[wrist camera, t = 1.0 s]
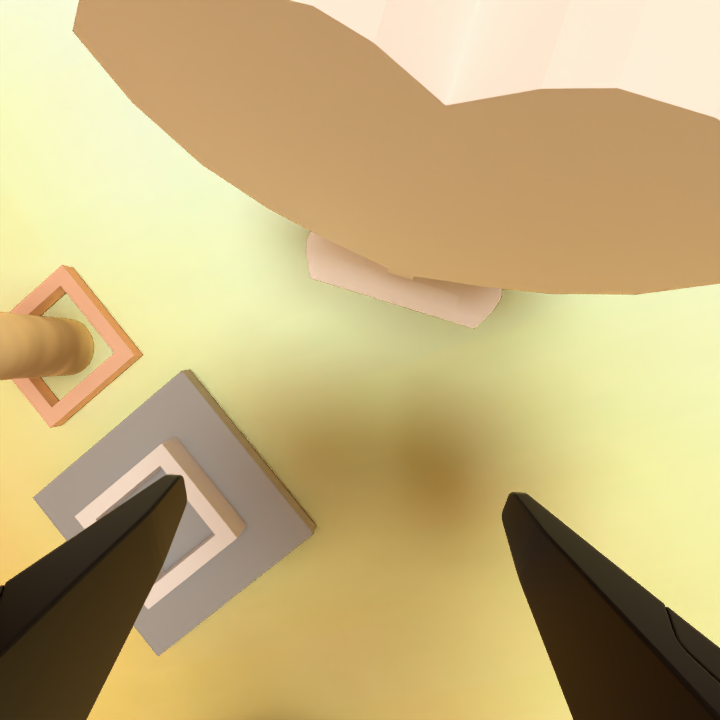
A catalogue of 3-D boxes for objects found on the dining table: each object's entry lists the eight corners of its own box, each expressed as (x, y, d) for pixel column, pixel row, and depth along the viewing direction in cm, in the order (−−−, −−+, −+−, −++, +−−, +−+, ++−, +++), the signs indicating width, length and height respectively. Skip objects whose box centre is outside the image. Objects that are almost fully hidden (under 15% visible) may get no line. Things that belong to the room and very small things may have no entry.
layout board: (167, 643, 24) (142, 677, 21) (47, 491, 24) (8, 507, 22) (316, 526, 23) (308, 547, 20) (190, 369, 23) (167, 372, 21)
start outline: (61, 425, 24) (50, 427, 23) (-7, 339, 24) (-21, 339, 23) (142, 354, 23) (134, 355, 23) (72, 267, 24) (61, 264, 23)
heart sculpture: (527, 265, 22) (1222, -142, 4) (503, 337, 22) (1057, 273, 4) (304, 198, 23) (14, -407, 5) (283, 269, 23) (-77, -43, 5)
